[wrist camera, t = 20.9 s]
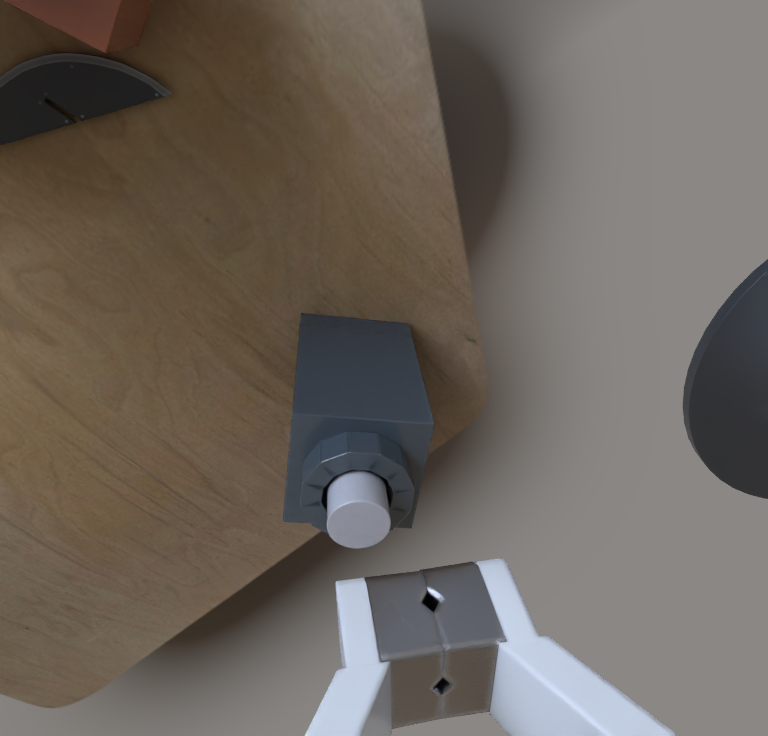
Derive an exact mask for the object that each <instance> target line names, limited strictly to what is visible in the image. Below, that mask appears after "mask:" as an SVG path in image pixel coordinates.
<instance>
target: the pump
mask: <svg viewBox="0 0 768 736" xmlns="http://www.w3.org/2000/svg"><path fill="white" fill-rule="evenodd" d="M390 526H391V518H390V510H389V502H388V494H387V488H386V485H385V483H384V482H383V480H382V479H381V478H380V477H378V476H377V475H375V474H373V473H371V472H368V471H362V470H354V471H349V472H345V473H343V474H341V475H339V476H338V477H336V478H335V479H334V480H333V481H332V482H331V484H330V485H329V487H328V490H327V530H328V533H329V535H330V536H331V538H332V539H333V540H334V541H335V542H337V543H338V544H340V545H343V546H345V547H349V548H365V547H369V546H372V545H375V544H376V543H378V542H380V541H381V540H382V539H383V538H385V536H386V535H387V534H388V532H389V530H390Z"/></svg>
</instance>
